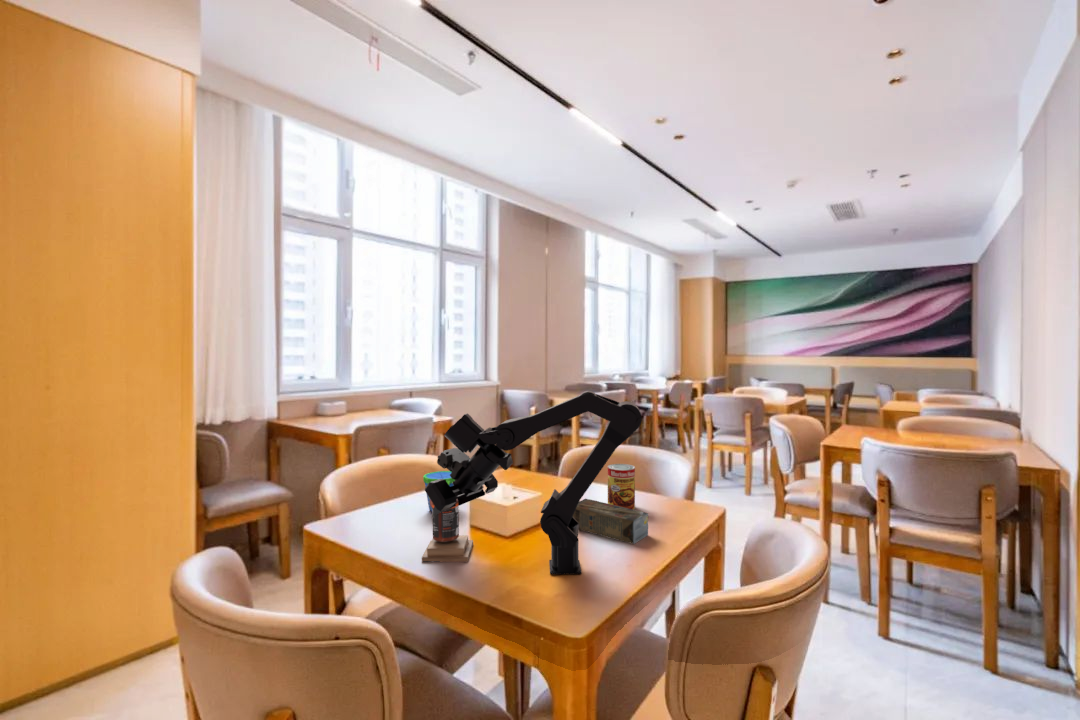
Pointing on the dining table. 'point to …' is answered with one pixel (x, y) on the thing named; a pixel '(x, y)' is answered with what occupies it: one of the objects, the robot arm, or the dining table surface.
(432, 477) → the snack cup
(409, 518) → the dining table surface
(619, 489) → the canned food
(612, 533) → the beverage carton
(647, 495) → the dining table surface
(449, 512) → the supplement bottle
